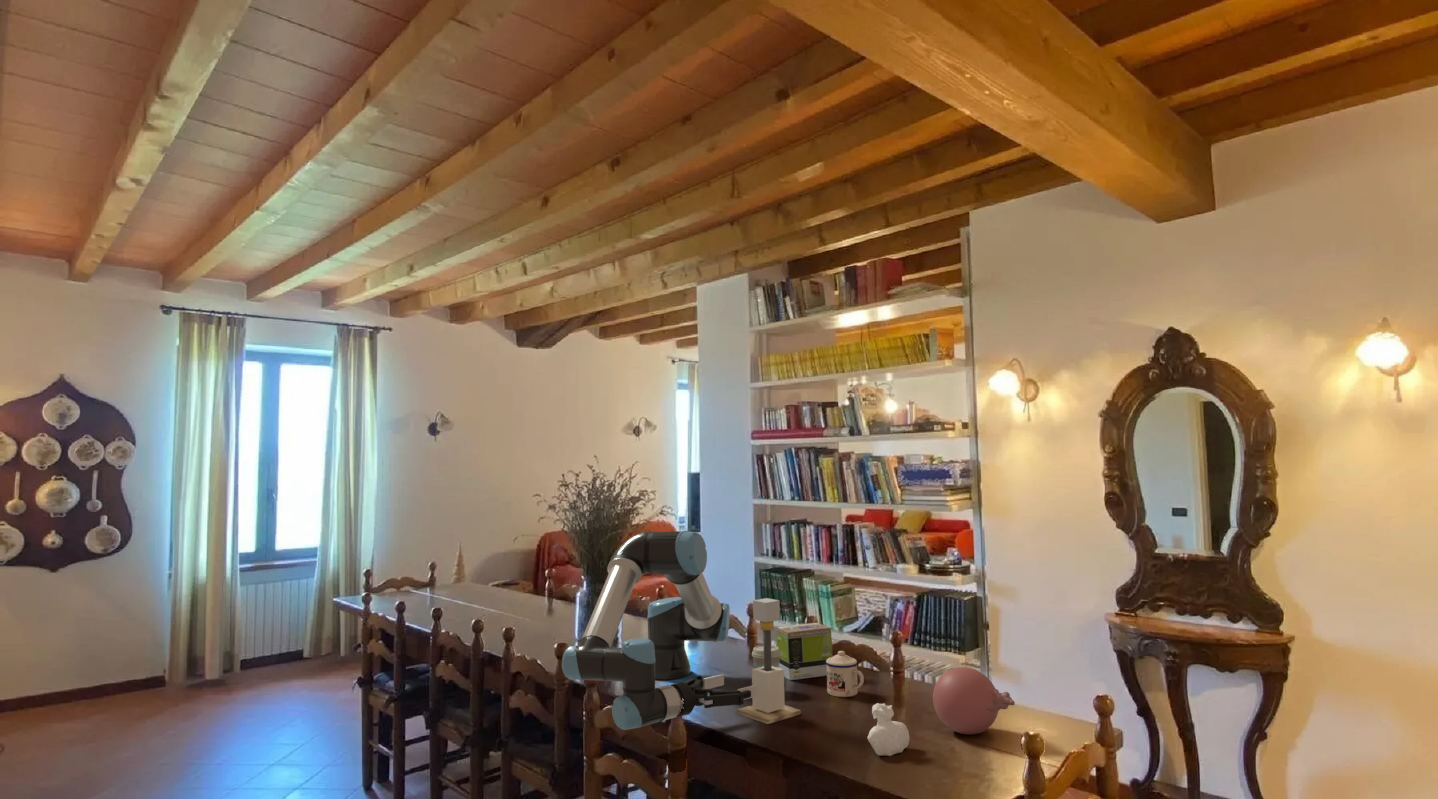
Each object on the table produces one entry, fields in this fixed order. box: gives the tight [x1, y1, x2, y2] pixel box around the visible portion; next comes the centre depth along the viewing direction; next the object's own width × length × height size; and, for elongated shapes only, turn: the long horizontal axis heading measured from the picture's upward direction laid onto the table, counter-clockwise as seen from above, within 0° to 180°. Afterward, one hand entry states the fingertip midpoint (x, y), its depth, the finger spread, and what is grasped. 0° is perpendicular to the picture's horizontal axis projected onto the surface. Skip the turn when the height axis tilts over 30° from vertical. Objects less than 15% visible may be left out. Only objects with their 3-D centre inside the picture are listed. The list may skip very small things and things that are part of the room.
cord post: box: [752, 597, 781, 671], centre depth 209 cm, size 5×5×28 cm
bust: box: [867, 702, 910, 757], centre depth 181 cm, size 12×8×11 cm
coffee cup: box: [751, 645, 781, 669], centre depth 230 cm, size 8×9×12 cm
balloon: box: [932, 666, 1015, 736], centre depth 190 cm, size 15×20×15 cm
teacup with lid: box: [826, 650, 865, 698], centre depth 224 cm, size 12×9×12 cm
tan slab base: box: [736, 704, 802, 725], centre depth 208 cm, size 12×12×1 cm
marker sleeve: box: [751, 666, 786, 713], centre depth 208 cm, size 6×6×10 cm
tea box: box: [775, 622, 834, 681], centre depth 246 cm, size 15×10×15 cm
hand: (740, 684), depth 202 cm, fingers open, 13 cm apart
